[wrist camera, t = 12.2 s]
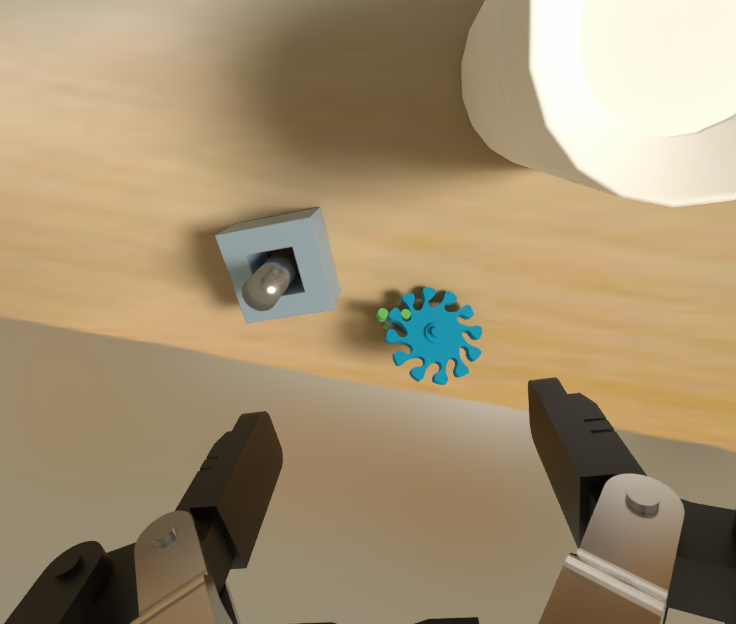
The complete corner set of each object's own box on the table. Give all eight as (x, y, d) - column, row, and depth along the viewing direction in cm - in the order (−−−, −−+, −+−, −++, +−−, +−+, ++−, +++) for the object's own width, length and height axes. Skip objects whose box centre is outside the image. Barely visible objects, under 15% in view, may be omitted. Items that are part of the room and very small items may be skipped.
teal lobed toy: (498, 312, 41) (465, 401, 38) (476, 328, 47) (445, 407, 43) (401, 264, 42) (359, 348, 38) (390, 286, 47) (353, 361, 44)
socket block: (235, 223, 41) (214, 235, 37) (320, 207, 40) (309, 217, 35) (262, 303, 45) (246, 323, 40) (340, 290, 43) (333, 309, 39)
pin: (272, 247, 42) (236, 280, 33) (299, 242, 41) (271, 274, 32) (280, 274, 43) (248, 313, 34) (307, 269, 43) (282, 308, 34)
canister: (665, 135, 35) (948, 143, 17) (480, 190, 38) (551, 247, 20) (660, -98, 29) (1094, -473, 11) (441, -10, 32) (492, -188, 14)
